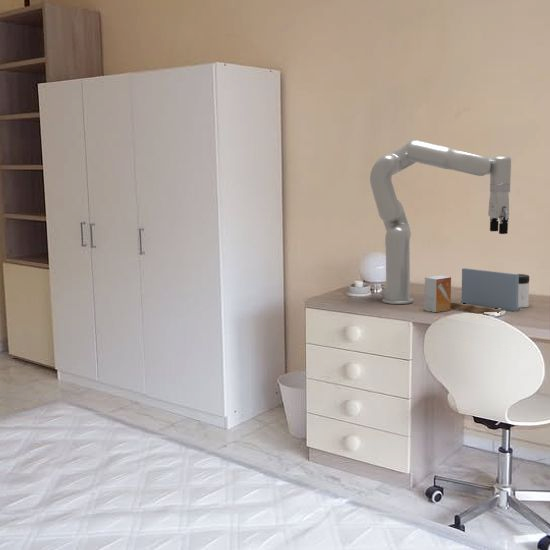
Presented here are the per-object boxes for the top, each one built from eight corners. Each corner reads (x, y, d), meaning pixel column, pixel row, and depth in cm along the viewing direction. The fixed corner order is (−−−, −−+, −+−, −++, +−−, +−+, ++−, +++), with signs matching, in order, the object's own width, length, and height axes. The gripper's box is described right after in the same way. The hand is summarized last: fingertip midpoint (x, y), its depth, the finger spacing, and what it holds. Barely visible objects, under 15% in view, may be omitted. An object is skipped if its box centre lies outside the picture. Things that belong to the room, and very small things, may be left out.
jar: (512, 308, 275) (513, 277, 273) (501, 304, 283) (502, 274, 281) (533, 306, 277) (534, 276, 275) (522, 303, 285) (522, 273, 283)
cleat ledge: (443, 307, 280) (443, 301, 280) (445, 307, 281) (445, 300, 281) (498, 316, 262) (498, 310, 262) (500, 316, 263) (500, 309, 263)
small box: (436, 313, 271) (436, 279, 269) (424, 310, 277) (424, 277, 275) (451, 310, 276) (451, 276, 274) (438, 307, 281) (439, 274, 279)
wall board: (461, 303, 288) (461, 268, 286) (465, 302, 290) (466, 267, 288) (515, 311, 270) (516, 274, 268) (519, 310, 272) (520, 273, 270)
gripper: (482, 187, 286) (481, 230, 289) (498, 189, 269) (497, 235, 272) (501, 187, 287) (499, 230, 289) (518, 189, 270) (516, 234, 272)
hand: (498, 232), depth 281 cm, fingers open, 9 cm apart
